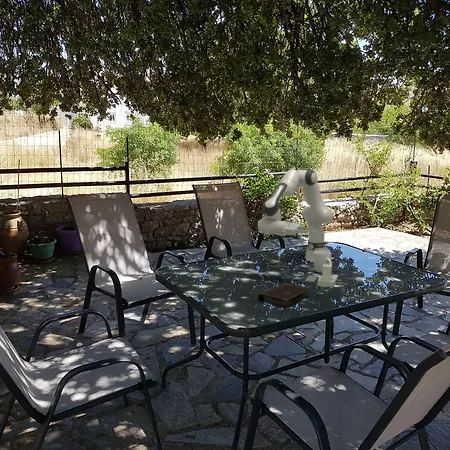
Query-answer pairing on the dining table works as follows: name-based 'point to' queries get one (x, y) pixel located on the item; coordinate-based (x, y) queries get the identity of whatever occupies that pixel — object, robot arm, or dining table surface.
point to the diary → (284, 295)
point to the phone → (311, 279)
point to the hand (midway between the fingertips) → (305, 230)
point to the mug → (321, 260)
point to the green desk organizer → (327, 283)
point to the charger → (326, 272)
